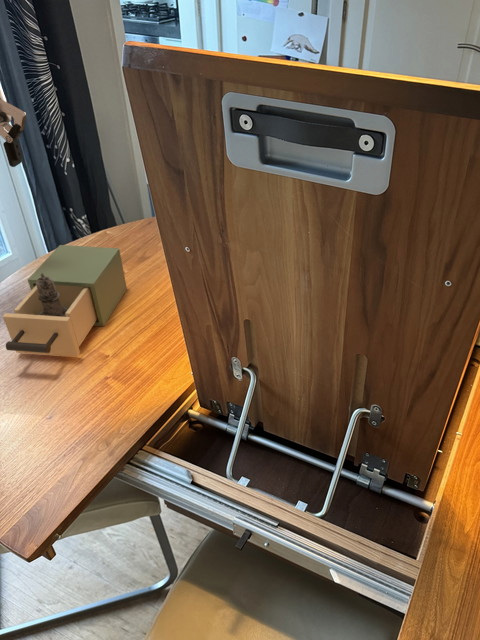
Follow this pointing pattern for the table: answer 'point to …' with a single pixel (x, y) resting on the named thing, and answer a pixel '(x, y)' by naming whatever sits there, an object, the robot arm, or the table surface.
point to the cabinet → (87, 274)
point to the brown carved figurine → (49, 298)
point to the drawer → (52, 323)
